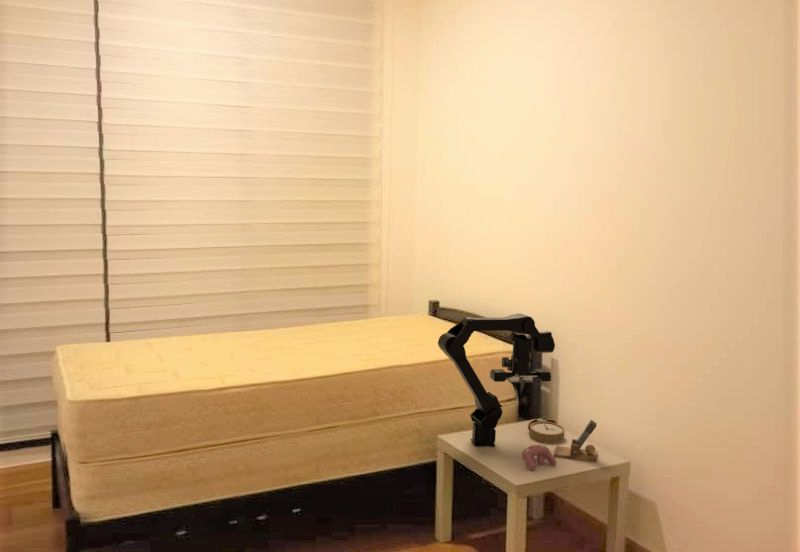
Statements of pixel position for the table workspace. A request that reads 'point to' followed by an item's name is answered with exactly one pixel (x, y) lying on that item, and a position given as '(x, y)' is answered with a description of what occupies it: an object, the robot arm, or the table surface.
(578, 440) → the lever
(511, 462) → the table surface
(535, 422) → the alarm clock
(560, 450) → the base
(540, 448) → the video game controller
